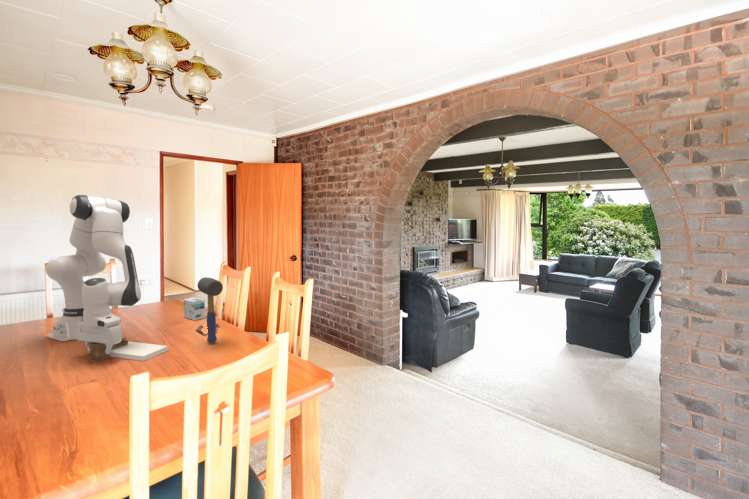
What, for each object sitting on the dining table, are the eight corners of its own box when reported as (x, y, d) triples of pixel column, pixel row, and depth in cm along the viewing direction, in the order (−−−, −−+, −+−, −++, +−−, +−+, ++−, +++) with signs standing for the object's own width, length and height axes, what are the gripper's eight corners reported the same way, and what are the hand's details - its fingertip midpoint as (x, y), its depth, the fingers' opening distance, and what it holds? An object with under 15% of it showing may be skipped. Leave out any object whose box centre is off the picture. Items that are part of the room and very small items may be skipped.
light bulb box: (206, 318, 210) (205, 299, 209) (194, 320, 205) (194, 301, 204) (194, 315, 216) (194, 296, 215) (183, 317, 210) (182, 299, 209)
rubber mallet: (226, 344, 168) (224, 278, 165) (209, 348, 163) (206, 281, 160) (214, 338, 177) (212, 275, 174) (198, 341, 172) (195, 277, 169)
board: (101, 355, 155) (101, 350, 155) (127, 345, 166) (127, 341, 166) (144, 361, 149) (143, 356, 149) (167, 350, 161) (167, 346, 160)
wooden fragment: (218, 335, 181) (218, 333, 181) (193, 338, 178) (193, 335, 178) (220, 321, 206) (220, 319, 205) (198, 323, 202) (198, 321, 202)
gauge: (90, 360, 149) (89, 343, 149) (123, 348, 163) (122, 332, 162) (98, 361, 148) (96, 344, 148) (130, 348, 162) (129, 333, 161)
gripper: (69, 319, 149) (72, 352, 151) (109, 323, 144) (111, 358, 145) (85, 315, 155) (87, 347, 157) (124, 319, 150) (126, 352, 151)
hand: (99, 352), depth 151 cm, fingers open, 7 cm apart
